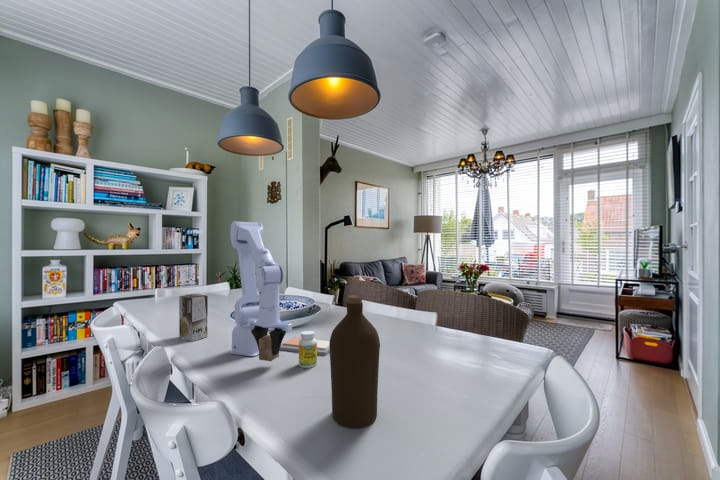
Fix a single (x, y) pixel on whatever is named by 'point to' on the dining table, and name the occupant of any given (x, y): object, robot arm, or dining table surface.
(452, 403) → the dining table surface
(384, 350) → the dining table surface
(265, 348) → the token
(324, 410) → the dining table surface
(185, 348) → the dining table surface
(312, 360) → the supplement bottle
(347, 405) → the olive oil
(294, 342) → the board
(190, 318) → the coffee box
